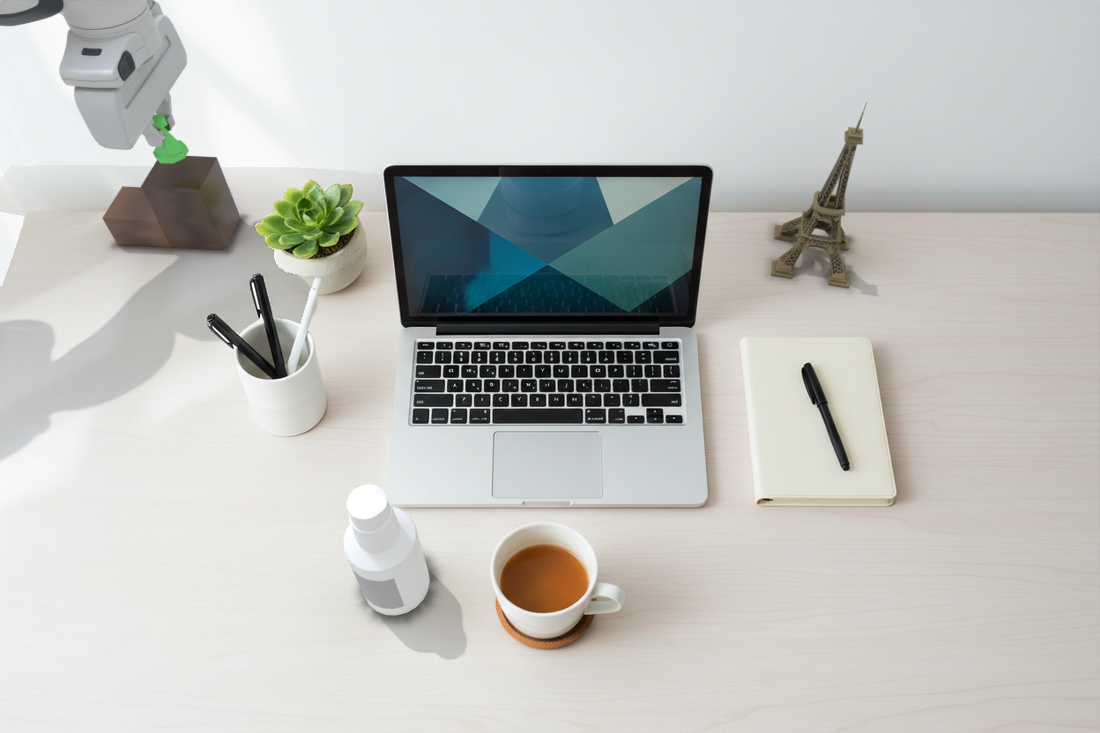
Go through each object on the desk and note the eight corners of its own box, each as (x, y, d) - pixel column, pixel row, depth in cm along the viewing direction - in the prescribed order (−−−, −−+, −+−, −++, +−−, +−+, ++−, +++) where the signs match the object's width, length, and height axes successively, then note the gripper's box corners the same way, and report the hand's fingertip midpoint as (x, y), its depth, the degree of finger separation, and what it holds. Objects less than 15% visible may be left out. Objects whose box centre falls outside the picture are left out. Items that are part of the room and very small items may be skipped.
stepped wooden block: (117, 244, 113) (81, 183, 104) (136, 212, 117) (103, 151, 108) (225, 250, 112) (199, 189, 103) (241, 217, 116) (216, 156, 108)
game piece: (189, 160, 103) (172, 120, 98) (155, 166, 102) (136, 127, 97) (187, 141, 105) (170, 102, 100) (154, 148, 104) (135, 108, 100)
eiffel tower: (847, 237, 115) (910, 83, 95) (848, 287, 108) (915, 134, 89) (775, 226, 116) (822, 72, 96) (771, 275, 110) (820, 121, 90)
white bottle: (365, 557, 83) (328, 470, 69) (429, 551, 83) (406, 463, 69) (362, 620, 79) (323, 541, 65) (430, 613, 79) (406, 533, 65)
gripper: (126, -11, 97) (168, 89, 108) (50, 81, 84) (106, 183, 95) (176, -9, 97) (213, 91, 108) (107, 83, 84) (157, 186, 95)
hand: (163, 135), depth 101 cm, fingers closed on game piece, 2 cm apart
